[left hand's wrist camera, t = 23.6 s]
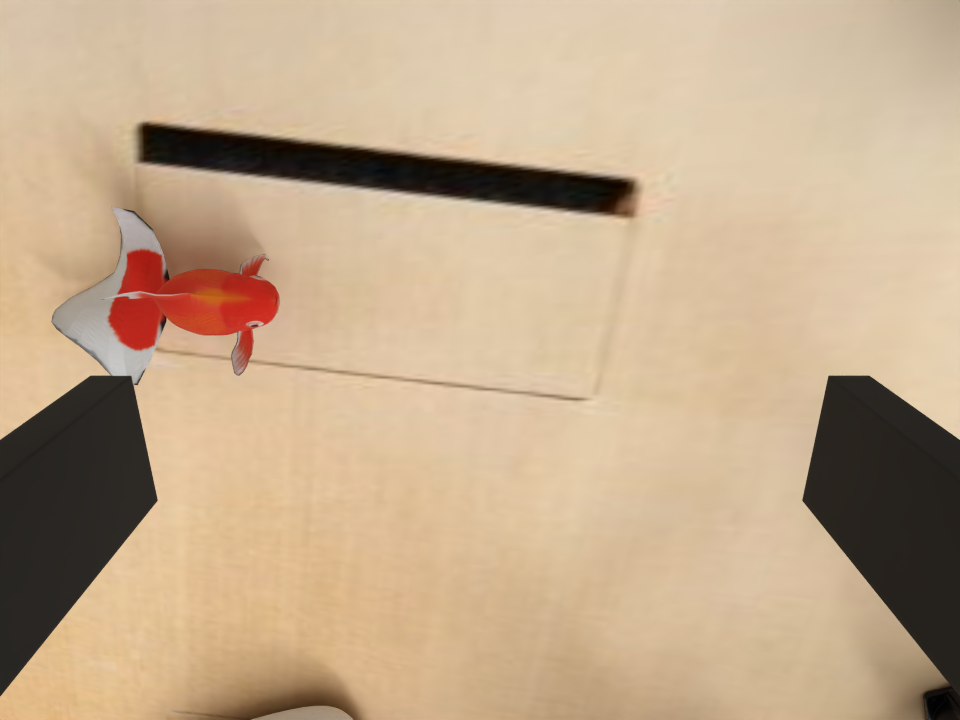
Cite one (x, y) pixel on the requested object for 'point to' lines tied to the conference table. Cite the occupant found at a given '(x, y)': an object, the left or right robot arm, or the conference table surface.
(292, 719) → the projector
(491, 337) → the conference table surface
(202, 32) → the conference table surface
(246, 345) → the fish
